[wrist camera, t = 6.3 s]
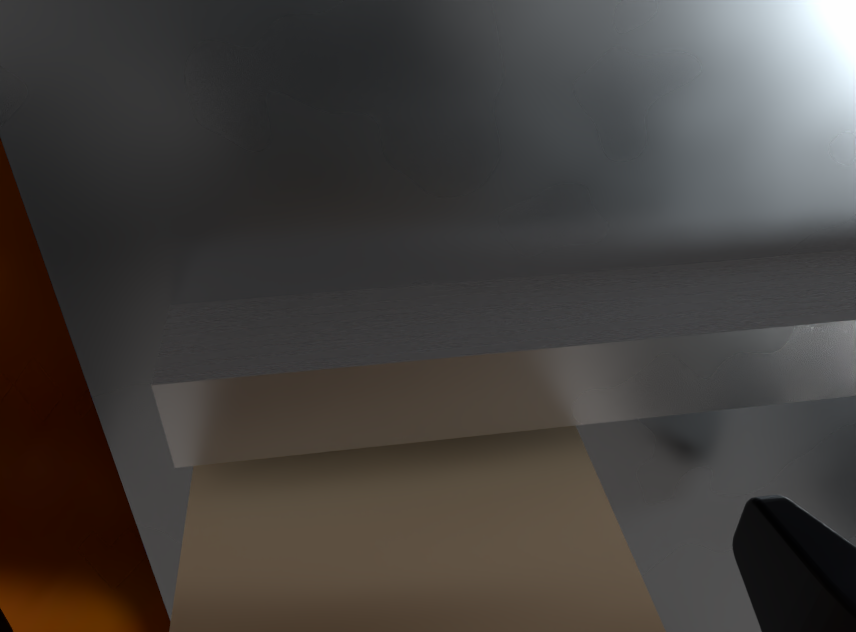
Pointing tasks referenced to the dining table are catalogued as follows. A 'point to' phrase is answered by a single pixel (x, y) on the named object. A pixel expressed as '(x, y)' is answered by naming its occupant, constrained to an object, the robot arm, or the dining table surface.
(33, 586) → the dining table surface
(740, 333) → the drilled plate
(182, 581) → the block
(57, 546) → the dining table surface
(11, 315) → the dining table surface
